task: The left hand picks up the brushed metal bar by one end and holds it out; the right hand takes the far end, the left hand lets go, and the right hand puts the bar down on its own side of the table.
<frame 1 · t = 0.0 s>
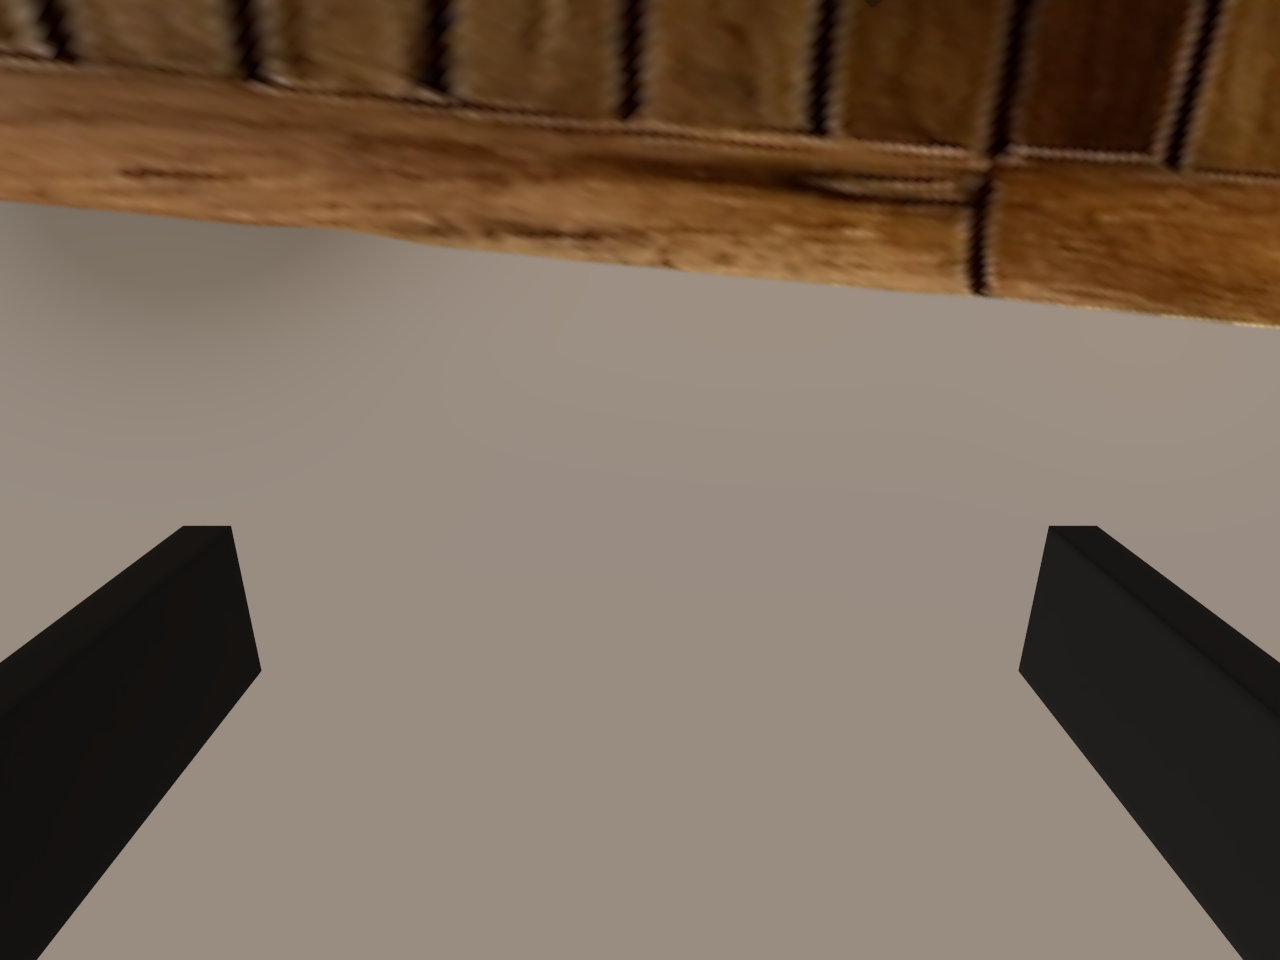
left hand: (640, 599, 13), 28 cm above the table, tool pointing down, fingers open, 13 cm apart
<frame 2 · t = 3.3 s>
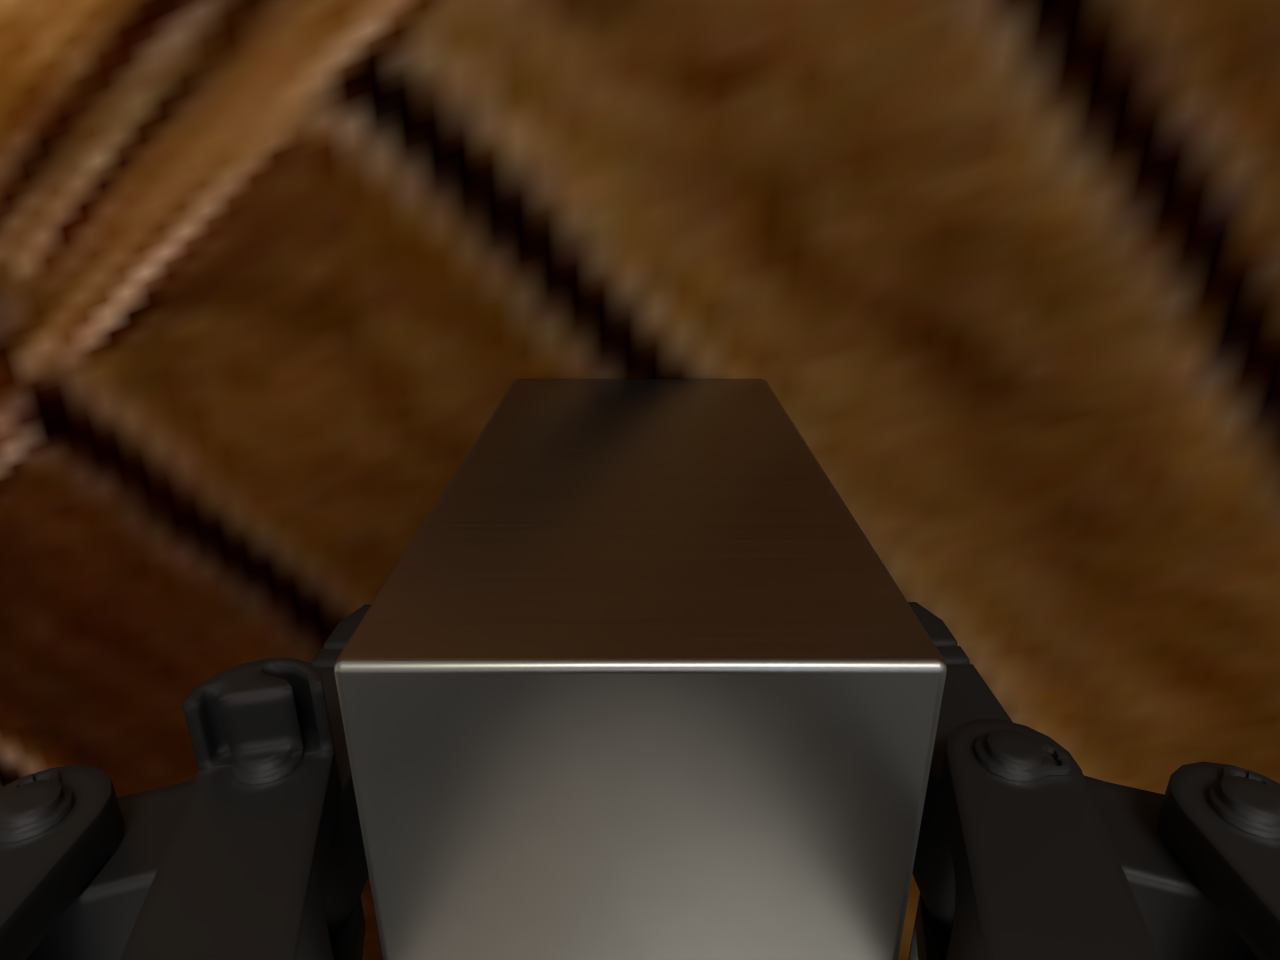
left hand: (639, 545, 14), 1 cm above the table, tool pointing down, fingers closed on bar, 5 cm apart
bar: (640, 903, 19), on the table, touching left hand
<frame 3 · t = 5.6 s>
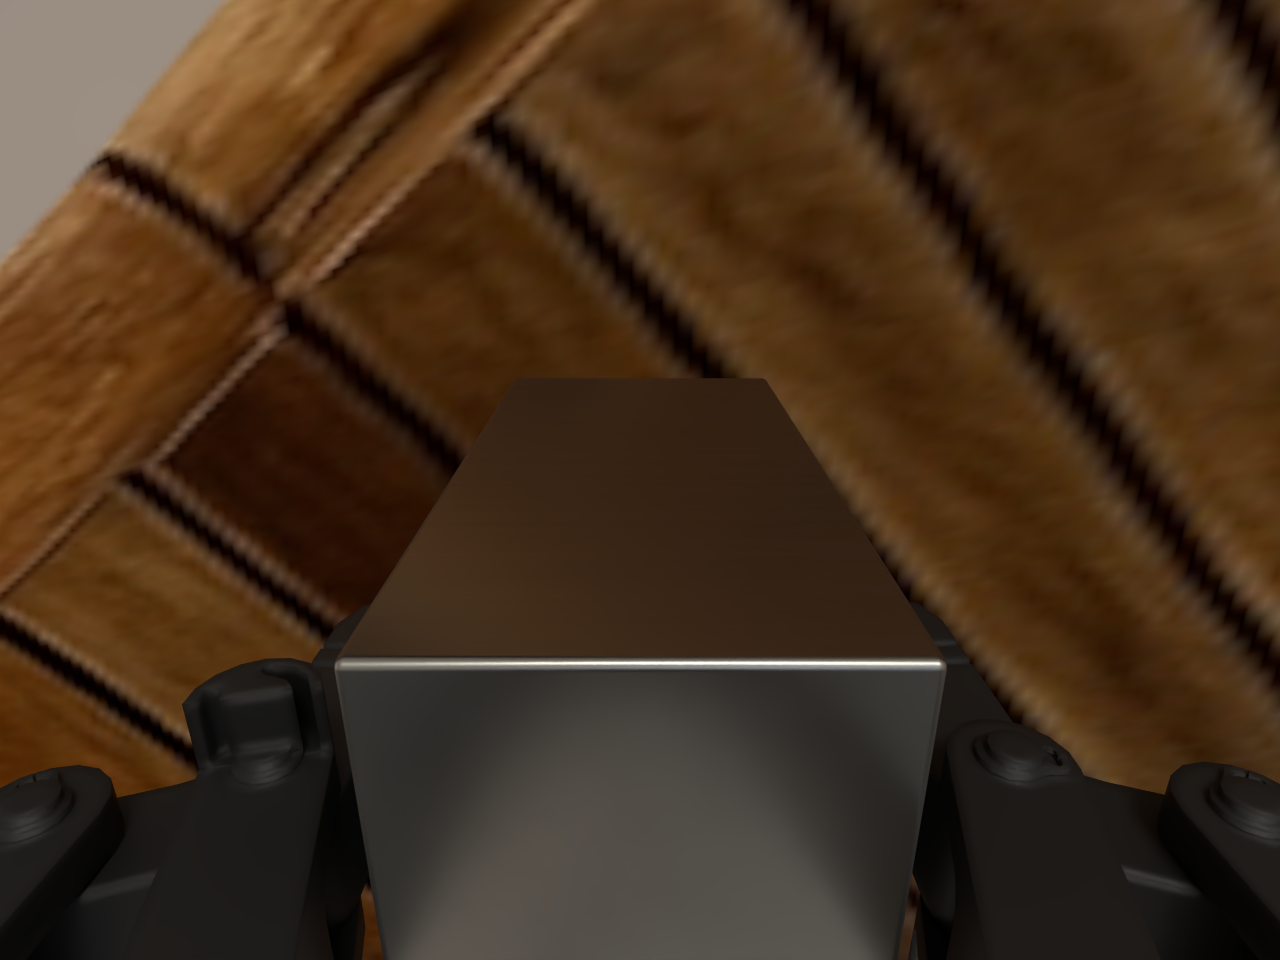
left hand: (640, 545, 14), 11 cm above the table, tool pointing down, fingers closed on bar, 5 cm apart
bar: (640, 903, 19), point 11 cm above the table, touching left hand
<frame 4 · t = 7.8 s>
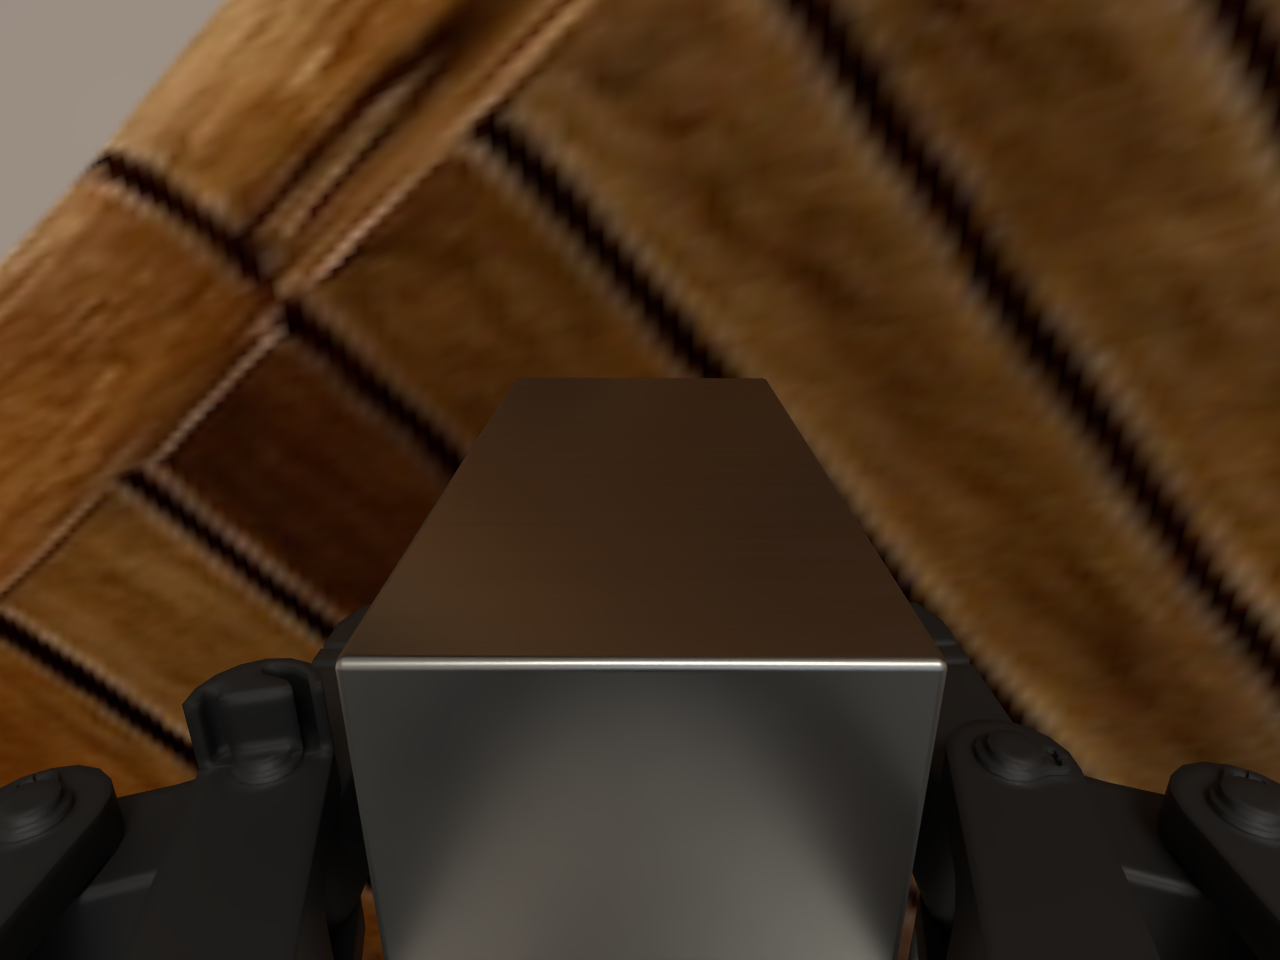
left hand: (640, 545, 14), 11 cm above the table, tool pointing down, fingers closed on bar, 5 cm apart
bar: (639, 902, 19), point 11 cm above the table, touching left hand, right hand
when the left hand's fingers open (11 cm above the table, at t = 8.3 s): bar stays where it is, held by the right hand.
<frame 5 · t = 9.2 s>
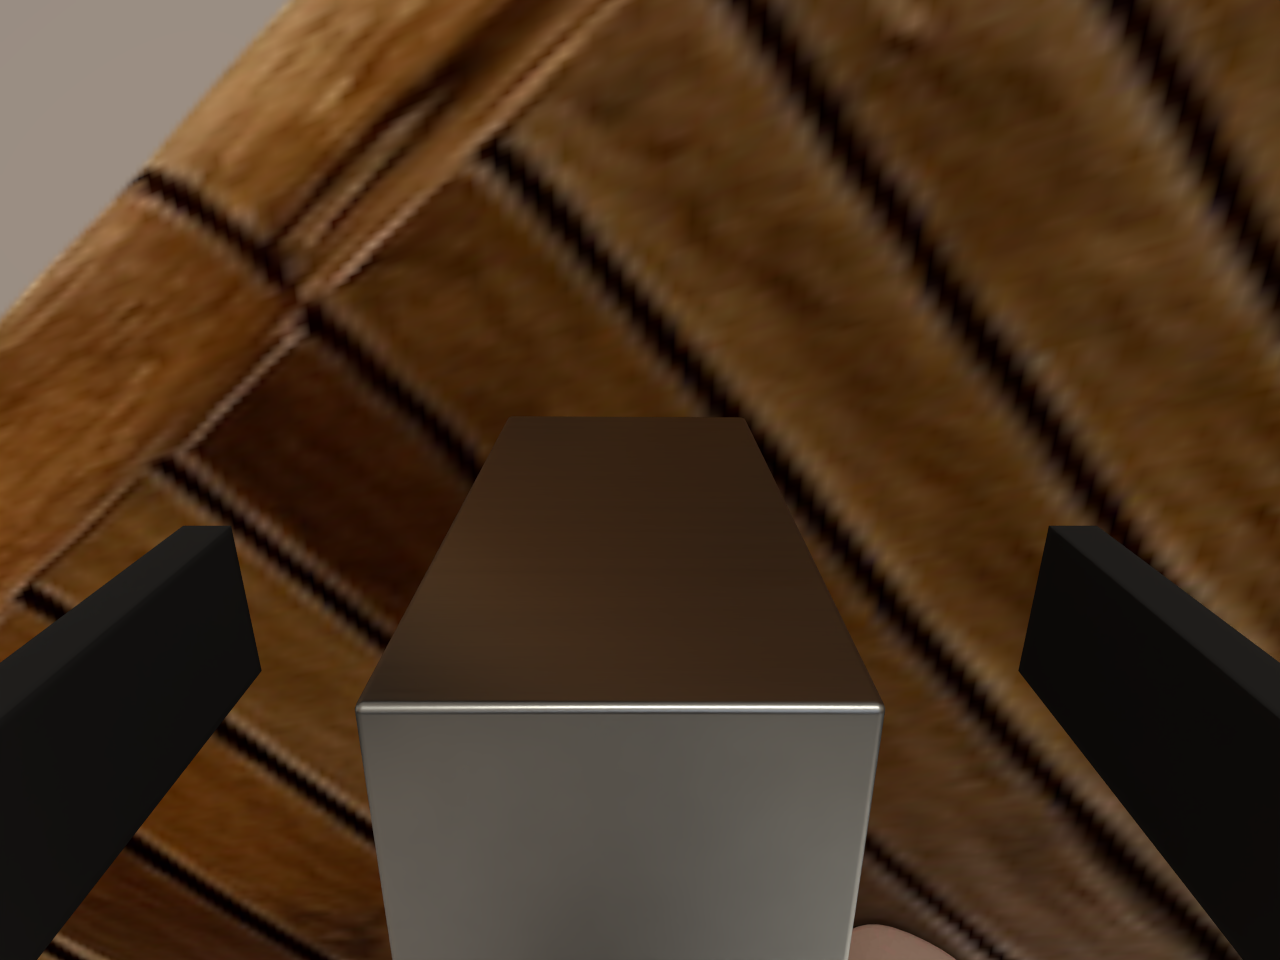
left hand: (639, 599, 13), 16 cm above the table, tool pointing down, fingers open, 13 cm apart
bar: (625, 909, 19), point 13 cm above the table, touching right hand
when the right hand's fingers open (2 cm above the table, at t = 13.8 s): bar drops 1 cm, on the table.
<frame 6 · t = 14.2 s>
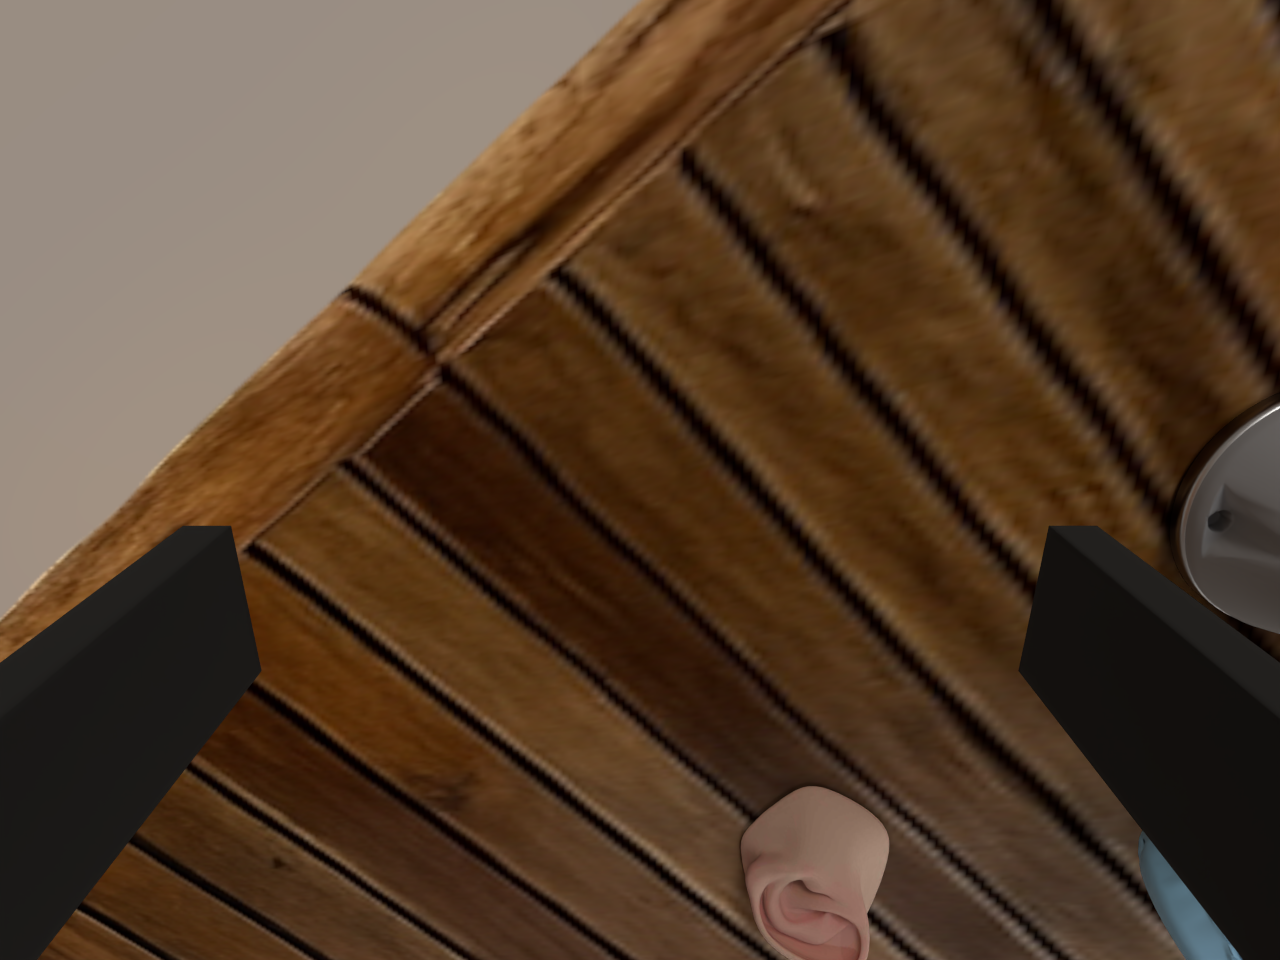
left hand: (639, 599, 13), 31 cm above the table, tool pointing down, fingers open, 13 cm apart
anatomical model: (811, 858, 56), on the table
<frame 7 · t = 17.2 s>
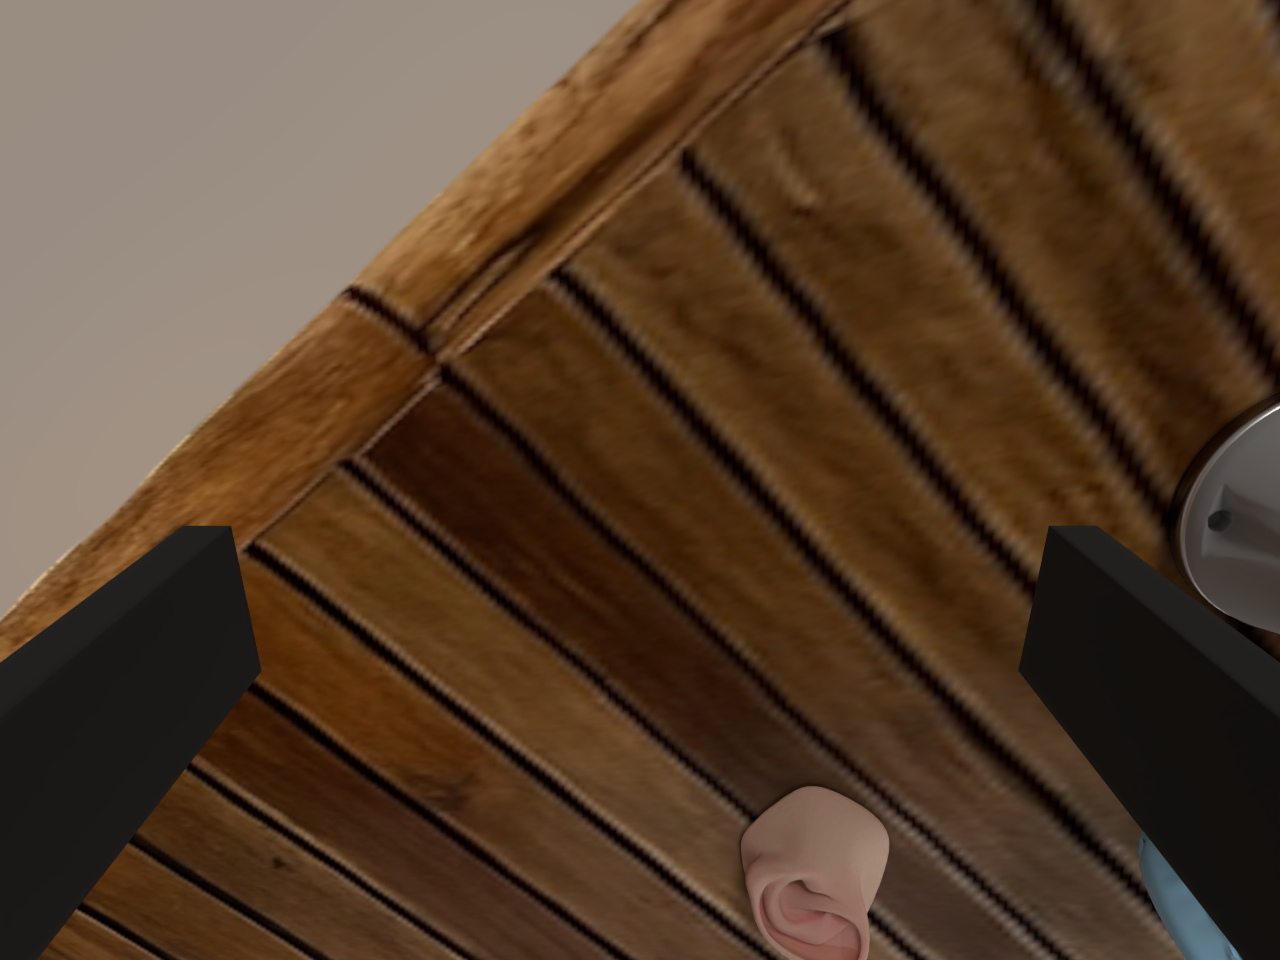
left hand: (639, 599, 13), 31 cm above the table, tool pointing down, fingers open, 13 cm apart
anatomical model: (811, 858, 56), on the table
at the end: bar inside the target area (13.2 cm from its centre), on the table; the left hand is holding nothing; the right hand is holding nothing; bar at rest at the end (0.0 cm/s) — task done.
